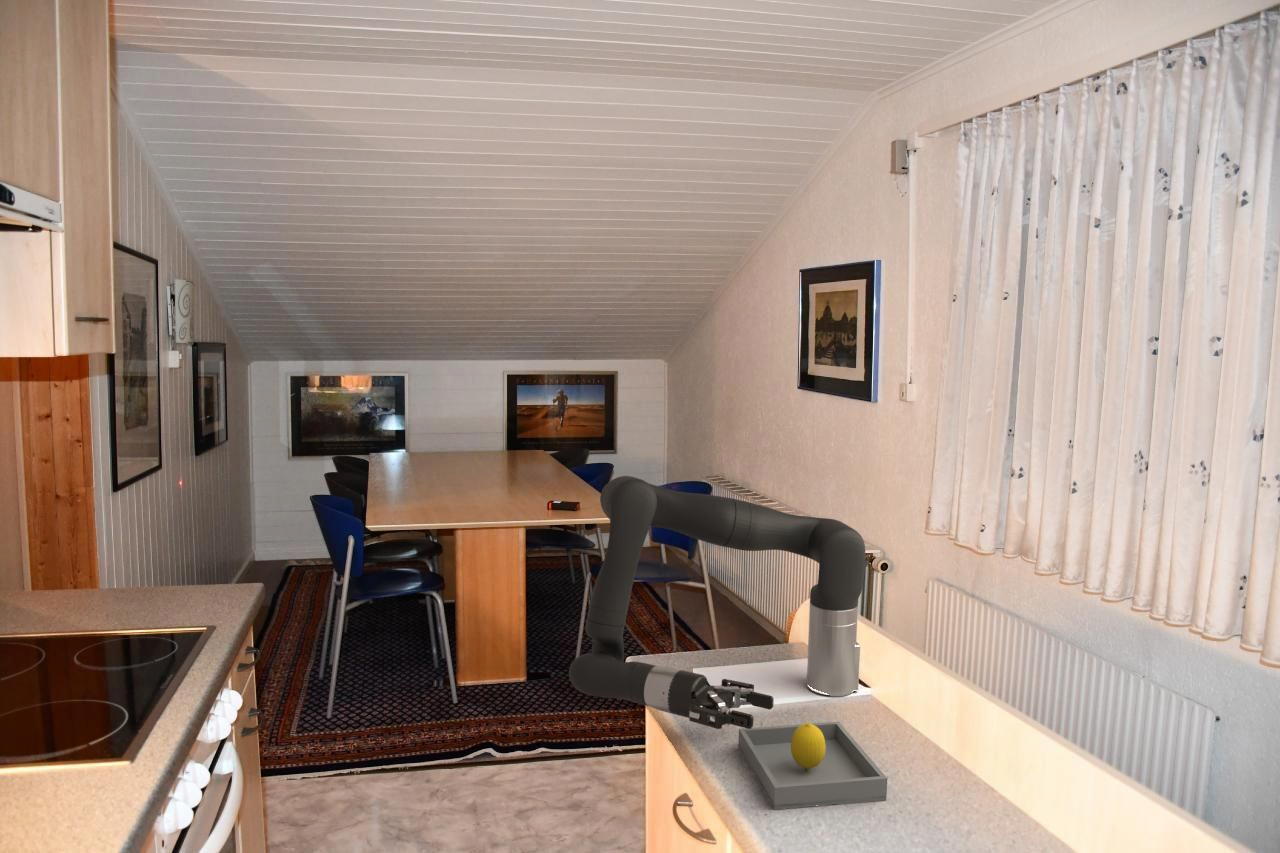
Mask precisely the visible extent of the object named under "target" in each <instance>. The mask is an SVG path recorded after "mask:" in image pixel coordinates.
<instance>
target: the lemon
mask: <svg viewBox="0 0 1280 853" xmlns="http://www.w3.org/2000/svg"><path fill="white" fill-rule="evenodd" d="M802 724H803V725H801V726H799V727H798V728H797V729H796V730H795V731H794V733H793V736H792V740H791V753H792V756H793V759H794V760H795V761H796V763H797V764H798V765H800V766H802V767H804V768H805V769H806V770H809V769H810V768H813V767H816V766H817V765H819V764H820V763H821V762H822V760H823V758H824V755H825V749H826V747H825V739H824V736H823V733H822V732H821V730H820V729H819V728H818V727H816V726H815V725H812V724H813V723H810V722H807V723H802Z"/></svg>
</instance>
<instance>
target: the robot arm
mask: <svg viewBox="0 0 1280 853" xmlns="http://www.w3.org/2000/svg"><path fill="white" fill-rule="evenodd" d="M599 500H600V507H601V510H602V511H603V513H604V514H605V516H606V517H607V518H608V519H609V536H608V543H607V548H606V552H605V556H604V559H603V562H602V565H601V568H600V569H599V573H598V575H597V578H596V580H595V582H594V585H593V590H592V593H591V597H590V600H589V607H588V611H587V618H586V623H585V633H586V635H587V636H588V637H589V638H591V639H592V650H591V652H590V653H589V652H588V653H584V654H581V655H579V656H577V657H576V658H575V659H574V660H573V661H572V662H571V664H570V666H569V671H568V676H569V680H570V683H571V684H572V686H573V687H574V688H575V689H576V690H578V691H579V692H580V693H582V694H585V695H589V696H594V697H601V698H606V699H608V698H609V699H619V700H624V701H629V702H632V703H636V704H640V705H644V706H647V707H650V708H653V709H656V710H658V711H661V712H665V713H668V714H673V715H676V716H680V717H684V718H688V721H689V722H692V723H696V724H699V725H703V726H706V727H709V728H713V729H716V730H720V729H721V730H722V728H723V726H726V727H728V726H730V725H731V726H736V727H740V728H747V729H751V728H754V720H755V719H754V718H755V717H754V716H753V714H750V713H748V712H747V713H746V712H743V711H738V710H735V709H739V708H740V707H741V706H750V705H751V706H754V707H756V708H761V709H765V710H769V711H770V710H772V709H773V708H774V696H773V695H770V694H765V693H761V692H755V685H754V684H752V683H748V682H743V681H739V680H738V681H737V680H732V679H727V678H722V679H721V684H720V685H711V684H710V683H709V680H708V679H707V677H706V676H705V675H704V674H700V673H696V672H692V671H687V670H683V669H679V668H674V667H671V666H670V667H669V666H659V665H655V664H651V663H646V662H641V661H625V658H624V657H625V655H624V648H625V647H624V646H625V645H624V630H625V626H626V621H627V615H628V610H629V605H630V602H631V600H630V599H631V595H632V590H633V586H634V585H633V584H634V581H635V576H636V572H637V568H638V564H639V561H640V558H641V554H642V550H643V547H644V544H645V541H646V538H647V536H648V532H649V530H650V527H654V528H661V529H665V530H671V531H673V532H676V533H679V534H682V535H685V536H687V537H690V538H692V539H695V540H699V541H702V542H705V543H707V544H711V545H715V546H718V547H719V546H720V547H723V548H729V549H733V550H738V551H746V552H747V551H748V552H762V551H783V552H787V553H792V554H794V555H798V556H802V557H806V558H808V559H810V560H812V561H814V562H817V563H818V576H817V578H818V579H817V584H815V585H813V586H811V589H810V592H809V614H808V615H809V618H808V619H809V620H808V643H807V644H808V646H807V670H806V671H807V672H806V685H807V684H808V685H809V686H810V687H812V688H813V689H816V690H818V691H821V692H824V693H827V694H829V695H830V696H829V697H844V696H849V695H850V693H851V692H852V691H853V690H858V691H859V685H860V684H859V681H860V680H859V678H860V662H861V661H860V660H861V659H860V658H861V645H860V643H859V642H857V639H858V638H857V637H858V636H857V634H858V610H859V598H860V595H861V594H862V592H863V589H864V588H863V587H864V578H865V568H866V567H865V564H866V544H865V541H864V540H865V539H863V537H862V535H861V534H860V532H858V531H857V530H856V529H855V528H852V527H851V526H850V525H847V524H846V523H844V522H842V521H840V520H837V519H834V518H827V517H826V518H824V517H814V516H812V517H811V516H804V515H797V514H790V513H787V512H783V511H780V510H776V509H774V508H771V507H767V506H764V505H760V504H757V503H753V502H749V501H745V500H740V499H736V498H731V497H726V496H720V495H719V496H718V495H711V494H704V493H694V492H686V491H685V492H683V491H676V490H673V489H672V490H671V489H670V488H669V489H668V488H665V487H662V486H658V485H656V484H655V485H654V484H652V483H649V482H647V481H646V480H643V479H641V478H638V477H634V476H630V475H623V476H622V475H621V476H618V477H615V478H613V479H611V480H610V481H609V482H607V484H605V486H603V488H602V490H601V492H600V497H599ZM852 693H853V692H852ZM852 693H851V694H852ZM731 709H732V710H731ZM711 719H713V720H714V721H713V720H711Z"/></svg>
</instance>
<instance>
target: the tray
mask: <svg viewBox="0 0 1280 853" xmlns="http://www.w3.org/2000/svg"><path fill="white" fill-rule="evenodd" d="M803 724H804V723H802V724H801V723H800V724H790V725H789V724H788V725H775V726H774V725H773V726H759V727H752V728H751V729H747V728H744V727H742V728H738V739H737V740H738V741H737V742H738V745H737V746H738V747H737V749H738V751H739V752H740V755H741V756H742V758H743V759H744V761H745V763H746V764H747V766H748V768H749V770H750V771H751V773H752V774H754V775H753V776H754V778H755V779H756V781H757V783H758V785H759V784H760V785H759V787H760V789H763V790H762V791H764V792H763V793H764V795H765V797H766V796H767V797H766V799H767V800H768V799H769V800H768V801H770V802H769V803H770V805H771V806H773V807H772V809H773V808H774V809H780V810H789V809H788V808H792V809H800V808H799V807H803V808H810V807H809V806H815V807H817V806H816V805H826V806H832V805H831V804H838V805H847V804H848V803H849V804H857V803H858V804H859V803H870V802H881V801H882V802H883V801H887V792H888V777H887V775H885V774H884V773H883V771H882V770H881V769H880V767H878V766H877V765H876V763H875V762H874V761H873V760H872V758H870V756H869V755H868V753H866V752H865V750H864V749H863V748H862V746H861V745H859V743H858V742H857V741H856V740H855V739H854V737H853V736H852V735H851V734H850V733H849V731H848V730H847V729H846V728H845V727H844V726H843V724H842V723H841V722H840V721H829V722H828V721H827V722H814V723H811V724H812V725H815V726H816V727H818V728H819V729H820V730H821V732H822V733H823V736H824V739H825V747H826V749H825V755H824V758H823V760H822V762H821V763H820V764H819V765H817V766H816V767H813V768H810V769H809V770H806V769H805V768H804V767H802V766H800V765H798V764H797V763H796V761H795V760H794V759H793V756H792V753H791V740H792V736H793V733H794V731H795V730H796V729H797V728H798V727H799V726H801V725H803ZM829 804H830V805H829ZM849 804H848V805H849ZM807 806H808V807H807ZM797 807H798V808H797ZM784 808H785V809H784ZM786 808H787V809H786ZM774 809H773V810H774Z"/></svg>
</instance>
